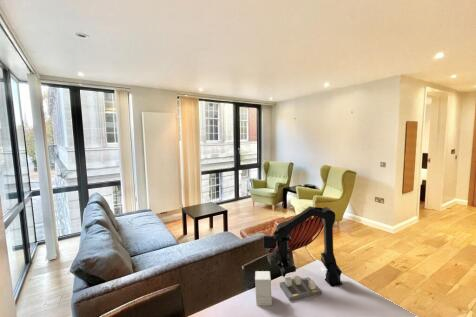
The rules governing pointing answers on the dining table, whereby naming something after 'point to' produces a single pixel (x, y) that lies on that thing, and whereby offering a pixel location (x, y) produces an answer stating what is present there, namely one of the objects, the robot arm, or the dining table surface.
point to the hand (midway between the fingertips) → (283, 276)
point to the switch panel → (300, 290)
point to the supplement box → (263, 288)
